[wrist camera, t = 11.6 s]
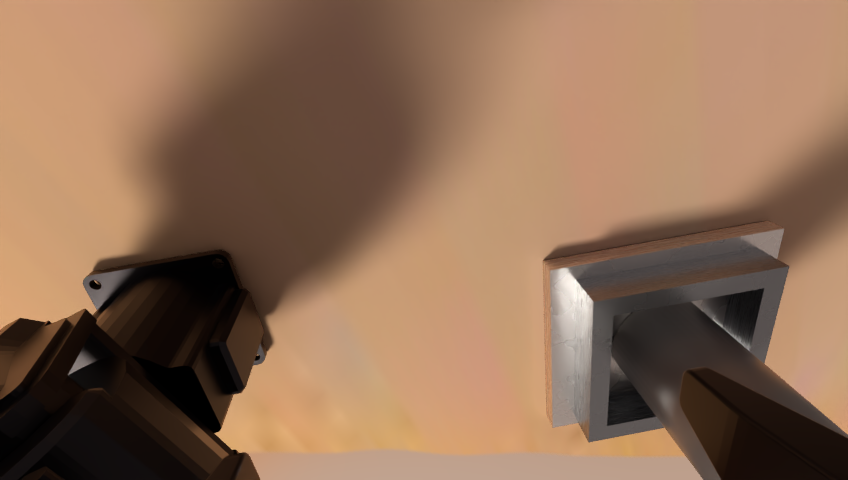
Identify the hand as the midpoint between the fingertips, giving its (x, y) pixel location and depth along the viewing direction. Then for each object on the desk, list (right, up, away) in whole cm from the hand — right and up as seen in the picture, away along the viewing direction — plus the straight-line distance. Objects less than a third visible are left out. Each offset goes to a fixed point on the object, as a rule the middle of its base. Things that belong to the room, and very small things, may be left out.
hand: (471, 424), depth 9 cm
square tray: (+12, -1, +17) cm, 20 cm away
